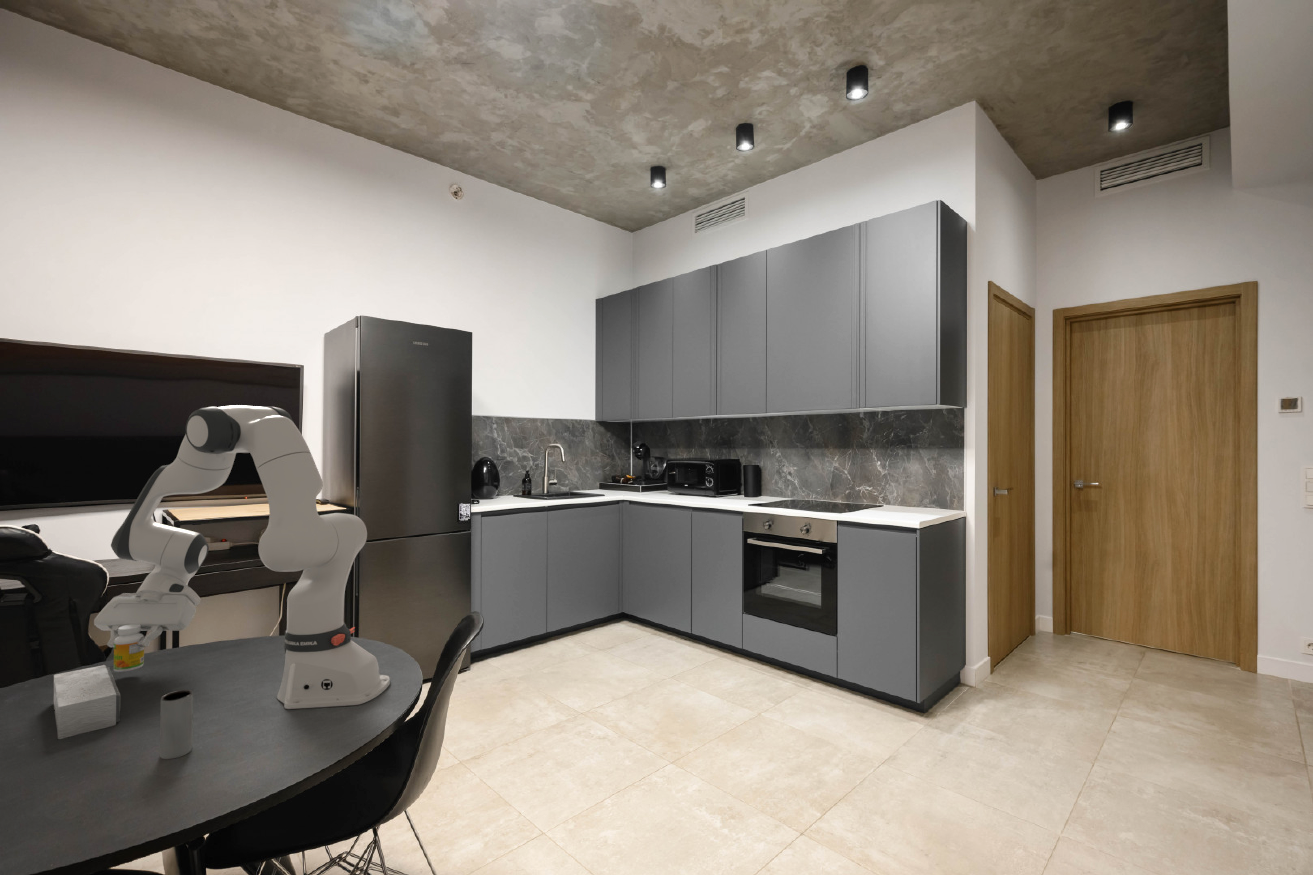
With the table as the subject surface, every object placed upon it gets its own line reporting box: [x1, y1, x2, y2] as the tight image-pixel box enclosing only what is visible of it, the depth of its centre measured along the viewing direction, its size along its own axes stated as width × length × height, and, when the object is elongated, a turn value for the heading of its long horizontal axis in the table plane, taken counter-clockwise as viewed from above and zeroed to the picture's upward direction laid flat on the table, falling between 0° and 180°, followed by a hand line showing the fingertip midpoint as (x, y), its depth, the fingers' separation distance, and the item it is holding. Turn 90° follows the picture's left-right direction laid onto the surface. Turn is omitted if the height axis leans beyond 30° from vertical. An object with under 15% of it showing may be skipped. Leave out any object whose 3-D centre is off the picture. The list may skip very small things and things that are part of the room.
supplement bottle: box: [113, 625, 145, 673], centre depth 141 cm, size 5×5×10 cm
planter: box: [159, 689, 194, 760], centre depth 108 cm, size 4×4×10 cm
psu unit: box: [53, 664, 121, 740], centre depth 123 cm, size 22×9×6 cm, turn 47°
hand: (126, 646), depth 141 cm, fingers closed on supplement bottle, 5 cm apart
